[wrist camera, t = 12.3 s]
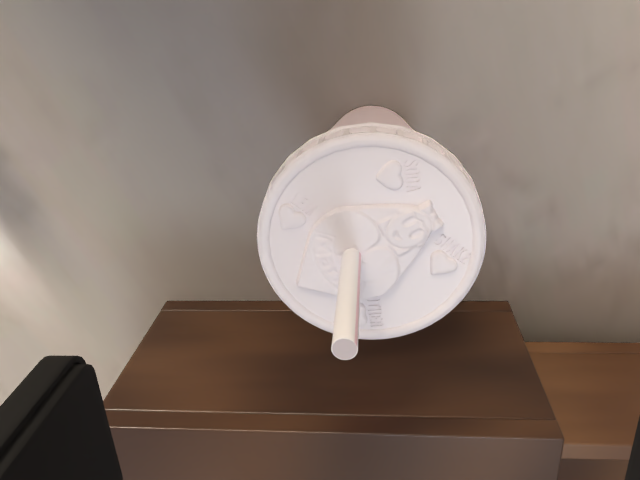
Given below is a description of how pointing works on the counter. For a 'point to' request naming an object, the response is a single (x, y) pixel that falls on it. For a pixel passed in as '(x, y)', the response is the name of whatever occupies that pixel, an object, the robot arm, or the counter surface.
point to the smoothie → (371, 230)
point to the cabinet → (330, 400)
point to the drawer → (592, 403)
